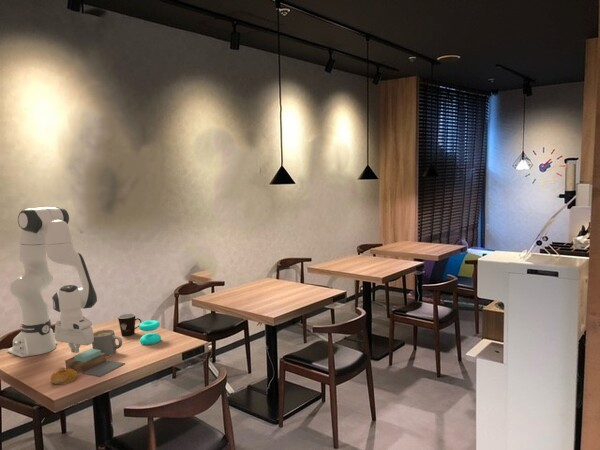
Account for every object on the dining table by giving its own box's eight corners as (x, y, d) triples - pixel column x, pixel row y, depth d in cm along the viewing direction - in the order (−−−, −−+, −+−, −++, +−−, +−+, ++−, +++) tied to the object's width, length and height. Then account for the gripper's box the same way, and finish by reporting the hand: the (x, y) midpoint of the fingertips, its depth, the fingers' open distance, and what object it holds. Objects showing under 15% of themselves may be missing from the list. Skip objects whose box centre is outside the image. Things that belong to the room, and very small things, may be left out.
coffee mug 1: (88, 357, 220) (86, 336, 219) (102, 349, 229) (100, 329, 228) (114, 358, 217) (112, 337, 216) (126, 350, 226) (125, 330, 225)
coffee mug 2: (116, 335, 248) (114, 317, 247) (130, 330, 255) (128, 312, 254) (129, 339, 242) (127, 320, 241) (143, 334, 249) (142, 315, 247)
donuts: (154, 325, 230) (135, 325, 231) (156, 345, 231) (136, 345, 232) (162, 319, 240) (143, 319, 241) (164, 338, 241) (145, 338, 242)
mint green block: (74, 360, 206) (74, 356, 206) (91, 352, 214) (90, 348, 214) (84, 362, 203) (84, 357, 203) (101, 354, 212) (100, 350, 211)
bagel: (82, 373, 201) (81, 363, 201) (71, 385, 191) (69, 374, 190) (58, 375, 201) (57, 364, 200) (46, 387, 190) (44, 376, 190)
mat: (82, 373, 201) (82, 372, 201) (107, 361, 214) (107, 360, 214) (100, 376, 197) (100, 375, 197) (125, 363, 210) (125, 363, 210)
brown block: (66, 369, 206) (65, 360, 206) (88, 359, 217) (87, 350, 217) (84, 372, 202) (83, 363, 202) (106, 362, 213) (105, 353, 213)
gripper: (49, 322, 211) (52, 352, 213) (83, 326, 203) (86, 357, 205) (61, 318, 217) (64, 347, 219) (94, 321, 209) (97, 352, 211)
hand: (75, 352), depth 212 cm, fingers closed
